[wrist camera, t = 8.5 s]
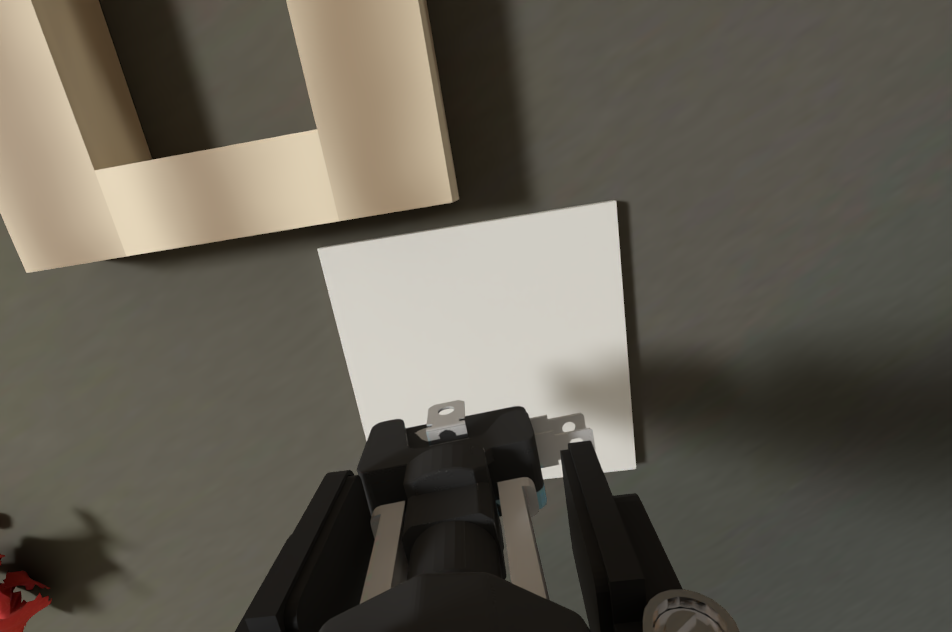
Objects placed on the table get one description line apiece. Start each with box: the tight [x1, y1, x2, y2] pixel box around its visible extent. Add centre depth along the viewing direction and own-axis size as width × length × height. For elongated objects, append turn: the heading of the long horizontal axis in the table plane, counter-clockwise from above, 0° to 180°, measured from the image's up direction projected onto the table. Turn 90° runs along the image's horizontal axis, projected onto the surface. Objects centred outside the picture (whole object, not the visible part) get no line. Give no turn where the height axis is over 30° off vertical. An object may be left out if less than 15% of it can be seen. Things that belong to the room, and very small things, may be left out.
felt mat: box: [317, 200, 636, 479], centre depth 20 cm, size 12×12×1 cm
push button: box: [319, 400, 596, 632], centre depth 10 cm, size 7×5×10 cm
